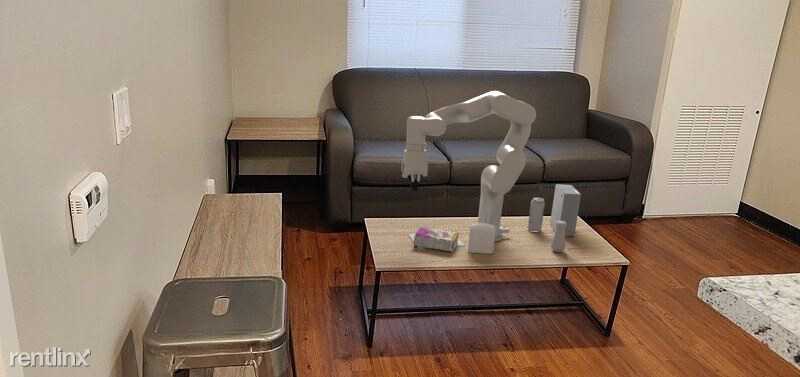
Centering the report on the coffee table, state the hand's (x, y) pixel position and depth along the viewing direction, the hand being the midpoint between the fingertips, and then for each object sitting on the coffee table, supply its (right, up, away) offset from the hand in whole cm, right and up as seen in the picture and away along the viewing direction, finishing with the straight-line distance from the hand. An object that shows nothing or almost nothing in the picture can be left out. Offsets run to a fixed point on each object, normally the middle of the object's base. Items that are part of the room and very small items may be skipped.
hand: (414, 190), depth 235 cm
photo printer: (+27, -25, -5) cm, 37 cm away
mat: (+9, -21, +5) cm, 23 cm away
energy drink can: (+55, -19, +23) cm, 62 cm away
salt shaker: (+59, -25, +1) cm, 65 cm away
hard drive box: (+68, -19, +24) cm, 75 cm away
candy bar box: (+1, -19, +1) cm, 19 cm away
